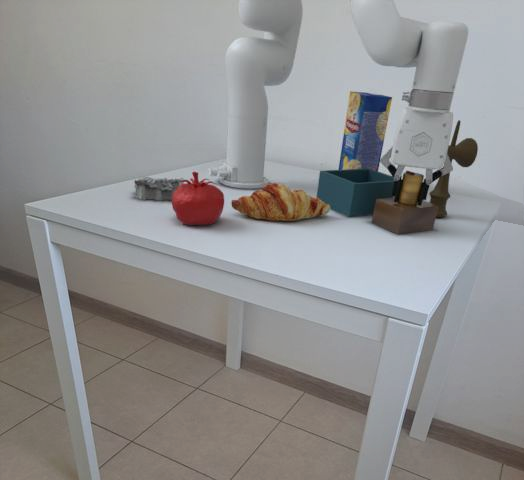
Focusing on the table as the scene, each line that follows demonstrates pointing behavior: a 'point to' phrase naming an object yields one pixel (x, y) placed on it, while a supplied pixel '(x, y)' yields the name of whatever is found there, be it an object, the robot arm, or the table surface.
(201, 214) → the red tomato
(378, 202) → the block
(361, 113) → the beverage box
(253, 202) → the croissant
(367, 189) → the teal open box
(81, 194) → the table surface
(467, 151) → the kendama
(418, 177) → the tap knob
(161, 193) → the grey flat jagged block
